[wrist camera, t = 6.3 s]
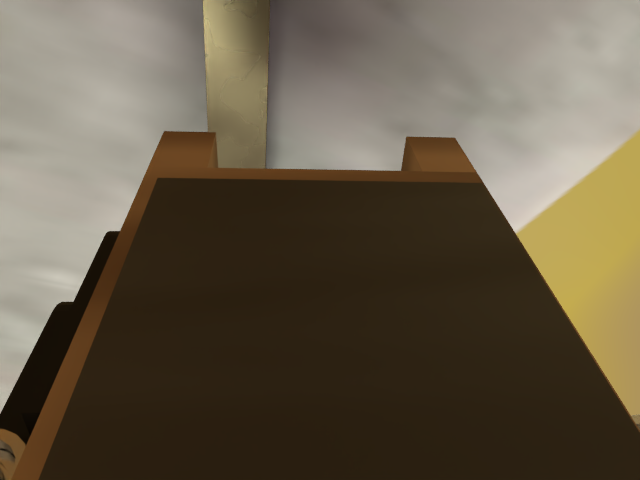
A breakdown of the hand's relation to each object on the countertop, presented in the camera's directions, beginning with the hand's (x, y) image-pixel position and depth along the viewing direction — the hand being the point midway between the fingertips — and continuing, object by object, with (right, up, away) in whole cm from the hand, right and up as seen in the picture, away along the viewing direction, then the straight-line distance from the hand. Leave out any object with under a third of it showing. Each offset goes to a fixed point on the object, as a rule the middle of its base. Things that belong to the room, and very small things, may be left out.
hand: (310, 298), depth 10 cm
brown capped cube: (0, +1, +2) cm, 2 cm away
